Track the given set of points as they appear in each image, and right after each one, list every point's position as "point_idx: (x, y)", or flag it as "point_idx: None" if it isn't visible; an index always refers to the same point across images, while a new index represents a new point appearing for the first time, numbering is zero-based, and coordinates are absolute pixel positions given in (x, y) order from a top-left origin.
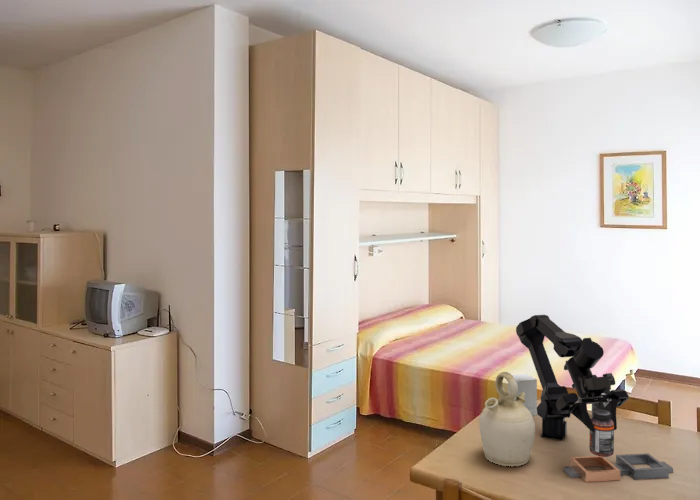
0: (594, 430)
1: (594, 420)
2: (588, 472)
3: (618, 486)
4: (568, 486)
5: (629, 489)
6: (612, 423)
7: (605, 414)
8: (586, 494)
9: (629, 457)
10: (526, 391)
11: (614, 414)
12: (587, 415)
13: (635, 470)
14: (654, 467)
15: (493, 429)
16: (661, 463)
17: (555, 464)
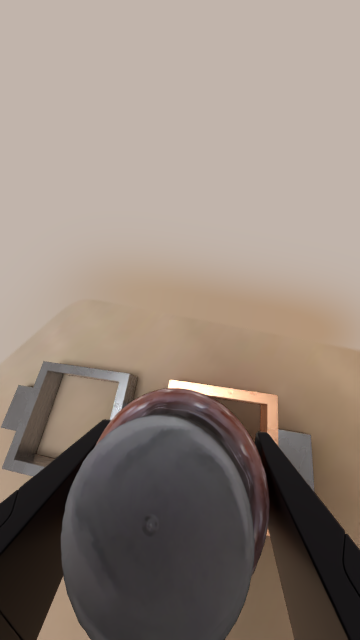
0: (259, 432)
1: (251, 488)
2: (268, 394)
3: (198, 355)
4: (330, 386)
5: (183, 338)
6: (130, 405)
7: (165, 427)
8: (297, 338)
9: None
10: None
11: (17, 503)
12: (342, 566)
13: (127, 373)
14: (45, 415)
15: None
16: (33, 391)
17: None
